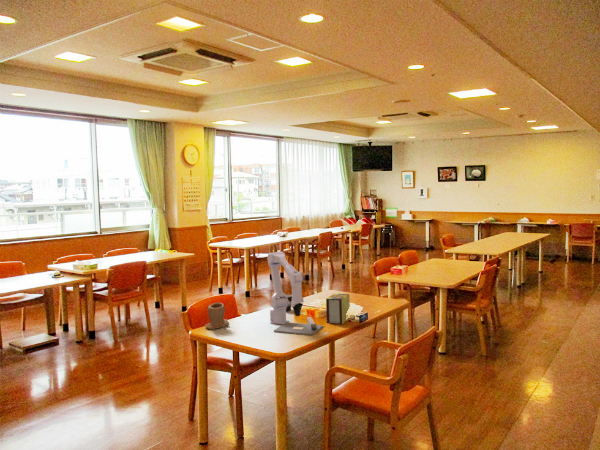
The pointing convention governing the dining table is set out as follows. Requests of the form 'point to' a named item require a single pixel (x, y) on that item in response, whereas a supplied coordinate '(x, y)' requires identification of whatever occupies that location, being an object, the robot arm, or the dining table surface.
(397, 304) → the dining table surface
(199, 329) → the dining table surface
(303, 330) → the label board
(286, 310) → the coffee mug
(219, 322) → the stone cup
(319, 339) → the dining table surface
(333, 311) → the protein box
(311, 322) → the swing bar
